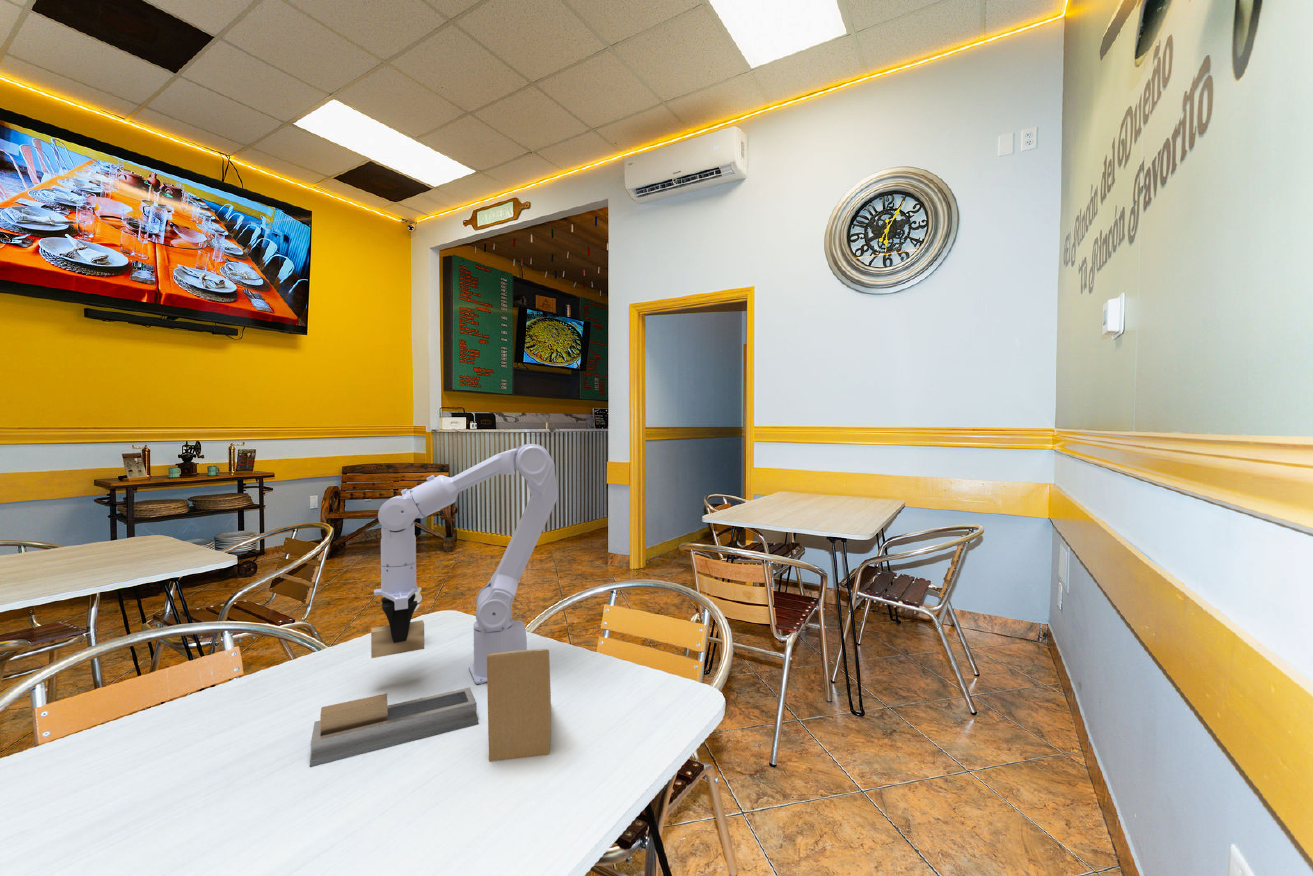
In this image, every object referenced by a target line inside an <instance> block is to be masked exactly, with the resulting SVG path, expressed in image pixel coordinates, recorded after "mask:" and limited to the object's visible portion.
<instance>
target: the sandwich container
mask: <svg viewBox="0 0 1313 876" xmlns="http://www.w3.org/2000/svg"><path fill="white" fill-rule="evenodd" d="M550 665H551V664H550V650H549V649H548V648H541V649H527V650H518V651H509V652H501V653H493V654H488V655H487V682H486V683H487V684H486V685H487V726H488V727H487V729H488V730H487V731H488V732H487V733H488V734H487V735H488V762H497V761H507V760H515V759H525V758H534V757H535V758H536V757H540V756H541V757H543V756H549V755H550V745H551V734H552V701H551V700H552V694H551V693H552V691H551V689H552V688H551V666H550Z"/></svg>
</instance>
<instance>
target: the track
mask: <svg viewBox="0 0 1313 876" xmlns="http://www.w3.org/2000/svg"><path fill="white" fill-rule="evenodd" d="M477 707H478V706H477V700H476V698H475V696H474V694H473V691H472V689H471V687H466V688H461V689H456V690H453V691H452V690H451V691H447V692H443V693H439V694H435V695H434V694H433V695H429V696H425V697H424V696H423V697H420V698H416V699H411V700H406V701H402V702H397V703H393V704H389V705H388V693H382V694H378V695H372V696H368V697H364V698H360V699H359V698H358V699H354V700H349V701H345V702H338V703H336V704H330V705H326V706H322V707H321V709H320V720H316V721H314V724H313V728H312V735H311V741H310V754H311V755H310V761H309V767H313V766H319V765H322V764H325V763H330V762H334V761H337V760H338V761H339V760H341V759H345V758H349V757H354V756H357V755H361V754H364V753H365V754H366V753H368V752H373V751H377V750H380V749H385V748H388V747H392V746H396V745H400V744H406V743H408V742H412V741H417V740H421V739H424V738H429V737H432V736H436V735H439V734H443V733H448V732H451V731H455V730H460V729H463V728H467V727H470V726H475V725H479V717H478V714H477V713H478V712H477Z"/></svg>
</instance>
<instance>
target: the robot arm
mask: <svg viewBox="0 0 1313 876" xmlns="http://www.w3.org/2000/svg"><path fill="white" fill-rule="evenodd" d="M515 469H516V470H517V471H518V472H519V474H520V475H521V476H522V477H523V479H524V480H525V483H526V486H527V488H528V490H529V492H530V498H529V500H528V502H527V504H526V506H525V509H524V511H523V513H522V514H521V517H520V519H519V521H518V524H517V525H516V528H515V530H514V531H513V534H512V536H511V538H510V541H509V543H508V544H507V547H506V549H505V551H504V553H503V556H502V558H501V560H500V562H499V563H498V565H497V568H496V570H495V571H494V572H493V574H492V576H491V577H490V580H489V581H488V582H487V583H486V585H485V586H483V588H481V589H479V592H477V595H476V599H475V602H476V603H475V604H476V610H475V619H476V620H475V622H474V623H473V664H471V665H468V670H469V672H470V675H471V677H472V679H473V681H474V682H475V684H477V685H480V684H484V683H487V655H488V654H493V653H501V652H509V651H518V650H528V649H527V645H528V644H527V643H528V642H527V641H528V640H527V629H526V626H525V623H524V621H522V620H514V619H513V617H512V614H513V611H512V610H513V608H512V605H513V601H514V599H515V597H516V594H517V590H518V586H519V582H520V580H521V577H522V576H523V574H524V572H525V570H526V567H527V565H528V563H529V561H530V559H531V557H532V554H533V552H534V550H535V548H536V547H537V546H536V545H537V543H538V541H539V539H540V538H541V535H542V532H543V531H544V528H545V526H546V524H547V523H548V519H549V517H550V516H551V513H552V511H553V509H554V507H555V504H556V502H557V500H558V496H559V490H558V485H557V484H558V483H557V477H556V471H555V470H556V466H555V462H554V461H553V459H552V457H551V455H550V453H549V452H548V450H547V449H546V448H545V447H544V446H542V445H540V444H536V443H535V444H533V443H526V444H523V445H520V446H518V448H516V447H515V448H512V449H508V450H506V451H502V452H500V453H499V452H498V453H495V454H494V455H493V456H491V457H488V458H487V459H485V460H483V461H481V462H479V463H477V464H475V465H473V466H471V467H470V468H467V469H465V470H464V471H462V472H459V473H458V474H456V475H454V476H452V477H449V476H446V475H442V474H439V475H437V476H435V475H434V474H431V475H430V476H428V477H427V478H426V481H425V482H422V483H421V484H418V485H416V486H415V487H413V488H410V489H408V488H405V489H402V490H401V491H400V493H401V495H397V496H394V497H391V498H389V499H387V500H386V501H385V502H383V504H381V506H380V507H379V509H378V512H377V513H378V514H377V519H378V522H379V524H380V525H381V529H380V533H381V539H380V588H376V589H374V590H373V596H375V597H377V596H378V597H379V596H381V597H382V598H381V600H380V601H381V610H382V611H383V614H384V615H385V616H386V618H387V622H388V626H389V625H390V630H391V636H392V640H393V642H394V643H398V642H403V641H406V640H407V637H408V632H409V626H410V622H412V617H413V615H414V612H415V611H414V610H415V609H416V606H417V601H414V599H415V592H416V591H417V589H418V587H419V586H418V584H417V541H416V540H417V537H416V535H415V532H416V531H415V522H414V521H415V520H416V519H423V518H426V517H428V516H430V515H432V514H434V513H436V512H438V511H440V510H442V509H444V508H446V507H449V506H450V505H452V504H454V503H455V502H456V501H457V499H458V496H459V493H461V492H464V491H465V490H467V489H469V488H472V487H473V486H476V485H478V484H480V483H482V482H485V481H486V480H488V479H491V478H493V477H496V476H498V475H511V476H512V475H513V476H514V475H516V472H515ZM416 610H417V609H416Z"/></svg>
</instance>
